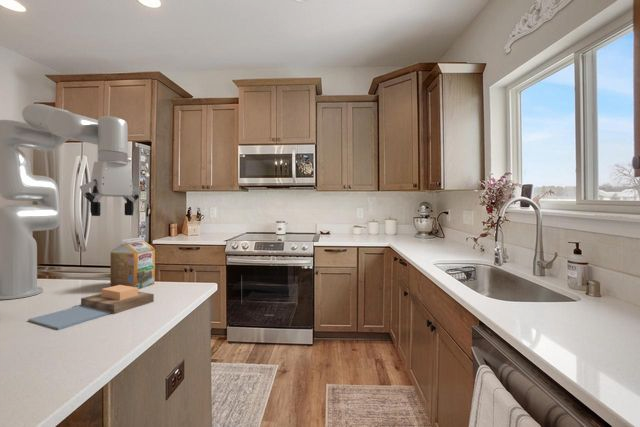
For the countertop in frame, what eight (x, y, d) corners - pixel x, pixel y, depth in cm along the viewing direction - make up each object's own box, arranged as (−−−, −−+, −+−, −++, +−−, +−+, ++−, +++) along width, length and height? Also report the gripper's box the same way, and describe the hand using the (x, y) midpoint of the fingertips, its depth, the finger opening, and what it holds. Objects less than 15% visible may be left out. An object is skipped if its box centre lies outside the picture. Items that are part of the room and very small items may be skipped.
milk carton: (134, 290, 114) (134, 240, 114) (110, 288, 116) (110, 239, 116) (154, 284, 124) (155, 237, 124) (132, 282, 126) (132, 236, 126)
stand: (81, 306, 96) (81, 298, 96) (121, 295, 108) (121, 288, 108) (114, 313, 90) (114, 305, 90) (153, 301, 102) (153, 294, 102)
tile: (101, 296, 98) (101, 288, 98) (119, 291, 104) (120, 284, 104) (120, 300, 95) (120, 292, 95) (138, 295, 100) (138, 287, 100)
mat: (28, 321, 83) (28, 319, 83) (82, 306, 95) (82, 305, 95) (58, 329, 78) (58, 327, 78) (111, 313, 90) (111, 311, 90)
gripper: (132, 163, 101) (132, 215, 102) (72, 155, 86) (73, 215, 86) (147, 162, 98) (147, 215, 99) (88, 153, 83) (89, 216, 83)
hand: (113, 215), depth 92 cm, fingers open, 9 cm apart
